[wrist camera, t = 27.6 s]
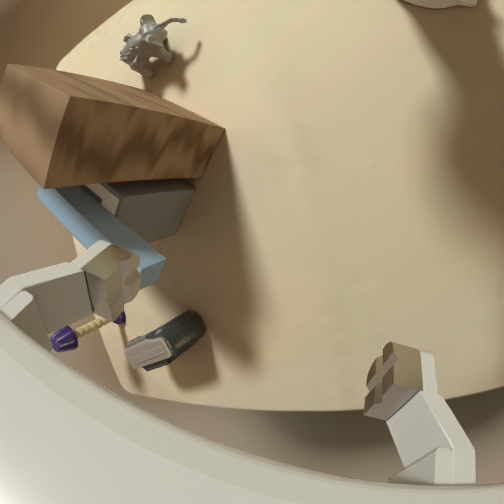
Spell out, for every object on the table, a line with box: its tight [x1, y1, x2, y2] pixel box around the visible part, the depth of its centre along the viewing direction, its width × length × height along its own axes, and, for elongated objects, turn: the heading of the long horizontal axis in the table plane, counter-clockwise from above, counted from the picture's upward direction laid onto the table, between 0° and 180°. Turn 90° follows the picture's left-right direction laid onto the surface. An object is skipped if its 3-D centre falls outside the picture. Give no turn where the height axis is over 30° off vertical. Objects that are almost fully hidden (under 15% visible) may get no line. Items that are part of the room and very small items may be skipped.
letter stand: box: [79, 178, 195, 242], centre depth 42 cm, size 8×18×15 cm, turn 60°
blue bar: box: [37, 185, 167, 290], centre depth 32 cm, size 3×20×4 cm, turn 60°
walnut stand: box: [0, 64, 225, 189], centre depth 33 cm, size 8×18×26 cm, turn 60°
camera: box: [124, 310, 206, 371], centre depth 48 cm, size 11×6×10 cm, turn 120°
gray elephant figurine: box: [120, 14, 187, 78], centre depth 38 cm, size 9×12×8 cm
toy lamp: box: [50, 312, 125, 352], centre depth 51 cm, size 5×5×17 cm
